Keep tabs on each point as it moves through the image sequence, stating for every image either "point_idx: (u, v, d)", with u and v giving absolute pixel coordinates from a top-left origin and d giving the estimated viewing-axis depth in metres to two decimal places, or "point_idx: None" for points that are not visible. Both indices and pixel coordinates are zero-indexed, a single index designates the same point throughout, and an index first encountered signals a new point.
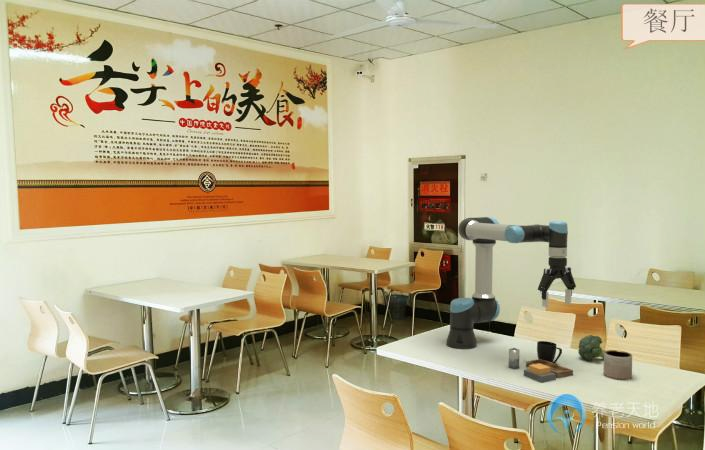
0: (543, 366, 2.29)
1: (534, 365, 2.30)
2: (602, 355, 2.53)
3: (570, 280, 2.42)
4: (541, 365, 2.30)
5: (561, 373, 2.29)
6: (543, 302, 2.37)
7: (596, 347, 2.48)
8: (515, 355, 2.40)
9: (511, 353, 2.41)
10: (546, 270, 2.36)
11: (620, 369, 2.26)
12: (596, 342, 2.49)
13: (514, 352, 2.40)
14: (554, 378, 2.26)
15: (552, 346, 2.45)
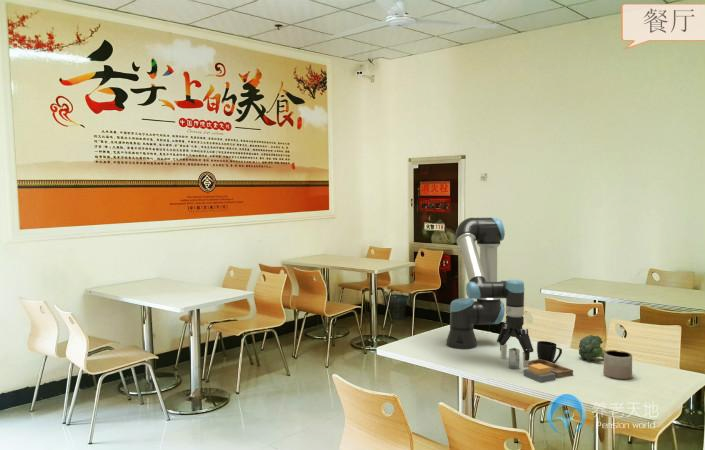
0: (543, 366, 2.29)
1: (534, 365, 2.30)
2: (602, 355, 2.53)
3: None
4: (541, 365, 2.30)
5: (561, 373, 2.29)
6: None
7: (596, 347, 2.48)
8: (515, 355, 2.40)
9: (511, 353, 2.41)
10: None
11: (620, 369, 2.26)
12: (596, 342, 2.49)
13: (514, 352, 2.40)
14: (554, 378, 2.26)
15: (552, 346, 2.45)
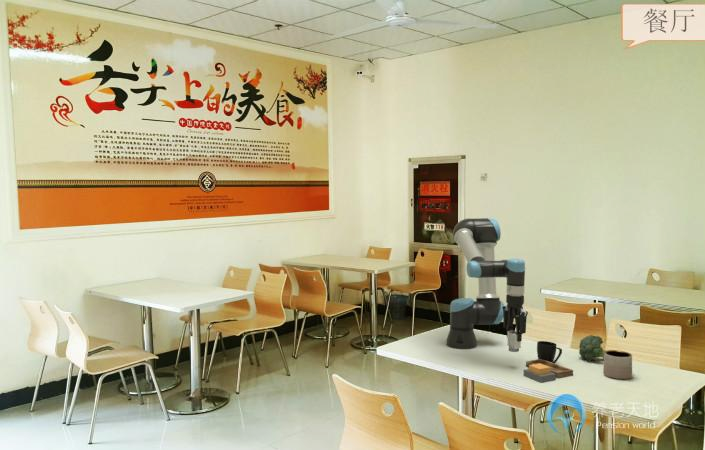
0: (543, 366, 2.29)
1: (534, 365, 2.30)
2: (603, 355, 2.52)
3: None
4: (541, 365, 2.30)
5: (561, 373, 2.29)
6: None
7: (597, 347, 2.48)
8: None
9: (511, 336, 2.41)
10: None
11: (620, 369, 2.26)
12: (597, 342, 2.49)
13: (514, 335, 2.40)
14: (554, 378, 2.26)
15: (552, 346, 2.45)
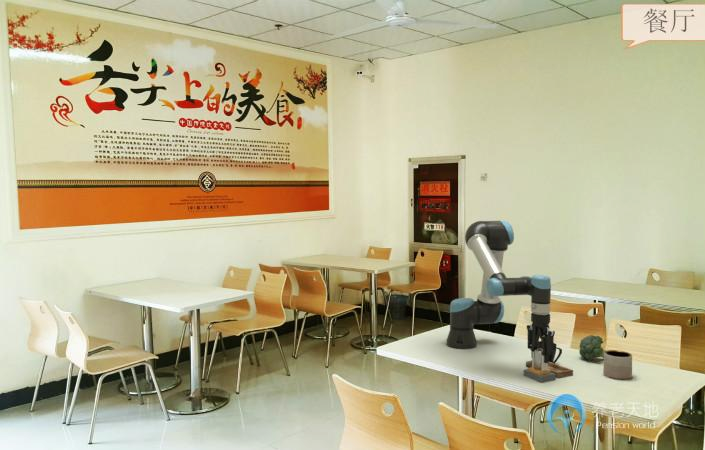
0: None
1: None
2: (603, 355, 2.52)
3: None
4: None
5: (561, 373, 2.29)
6: None
7: (597, 347, 2.48)
8: None
9: (537, 354, 2.27)
10: None
11: (620, 369, 2.26)
12: (597, 342, 2.49)
13: (540, 353, 2.26)
14: (554, 378, 2.26)
15: None
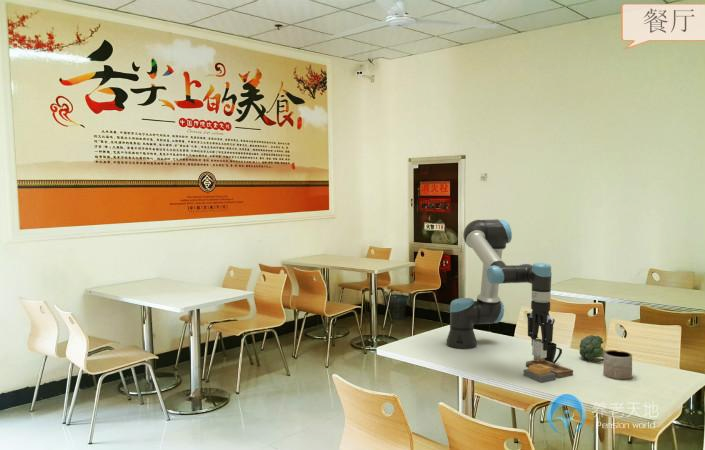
0: (543, 367, 2.29)
1: (534, 366, 2.30)
2: (603, 355, 2.52)
3: None
4: (541, 366, 2.30)
5: (561, 373, 2.29)
6: None
7: (597, 347, 2.48)
8: None
9: (536, 344, 2.27)
10: None
11: (620, 369, 2.26)
12: (597, 342, 2.49)
13: (539, 343, 2.27)
14: (554, 378, 2.26)
15: (552, 346, 2.45)
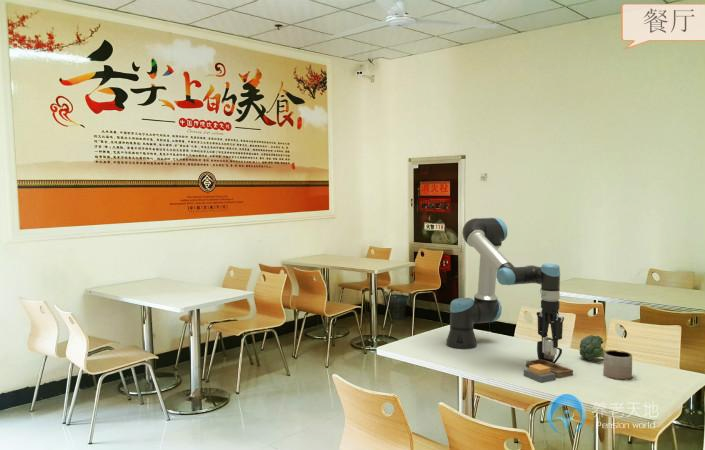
0: (543, 367, 2.29)
1: (534, 366, 2.30)
2: (603, 355, 2.52)
3: None
4: (541, 366, 2.30)
5: (561, 373, 2.29)
6: None
7: (597, 347, 2.48)
8: None
9: (547, 343, 2.36)
10: None
11: (620, 369, 2.26)
12: (597, 342, 2.49)
13: (550, 342, 2.35)
14: (554, 378, 2.26)
15: None
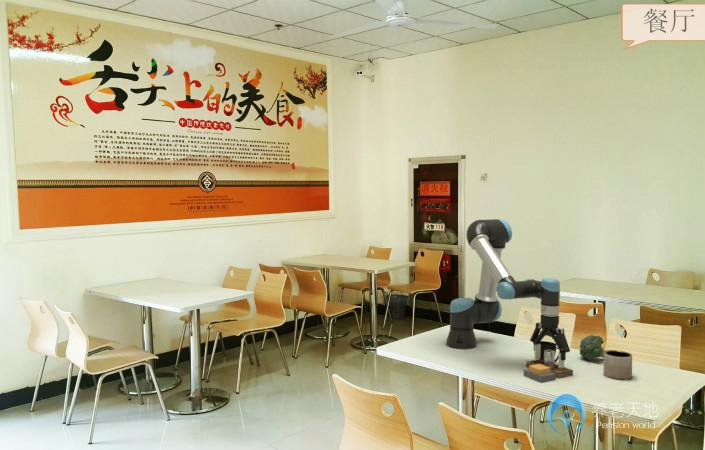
0: (543, 367, 2.29)
1: (534, 366, 2.30)
2: (603, 355, 2.52)
3: None
4: (541, 366, 2.30)
5: (561, 373, 2.29)
6: None
7: (597, 347, 2.48)
8: (551, 357, 2.36)
9: (546, 354, 2.36)
10: None
11: (620, 369, 2.26)
12: (597, 342, 2.49)
13: (549, 353, 2.36)
14: (554, 378, 2.26)
15: (552, 346, 2.45)
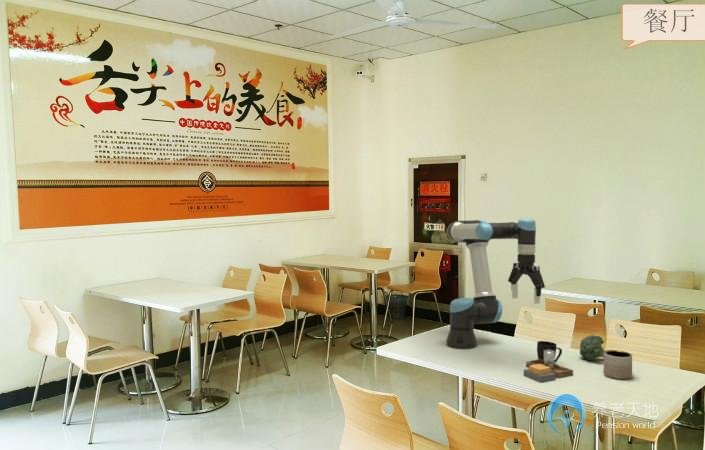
0: (543, 367, 2.29)
1: (534, 366, 2.30)
2: (603, 355, 2.52)
3: None
4: (541, 366, 2.30)
5: (561, 373, 2.29)
6: None
7: (598, 347, 2.48)
8: (551, 357, 2.36)
9: (546, 355, 2.36)
10: None
11: (620, 369, 2.26)
12: (598, 342, 2.49)
13: (549, 353, 2.36)
14: (554, 378, 2.26)
15: (552, 346, 2.45)
